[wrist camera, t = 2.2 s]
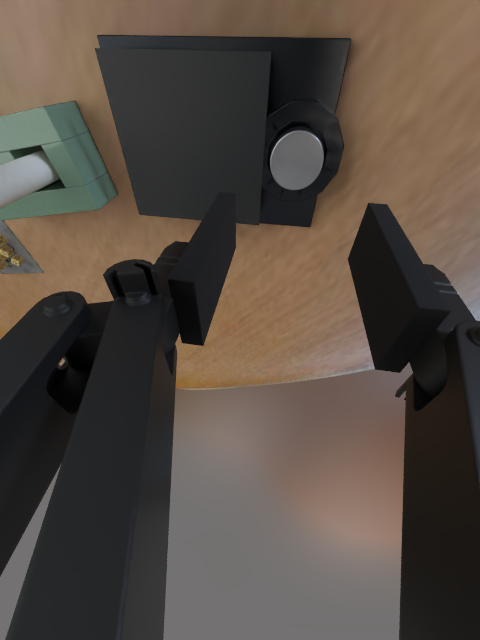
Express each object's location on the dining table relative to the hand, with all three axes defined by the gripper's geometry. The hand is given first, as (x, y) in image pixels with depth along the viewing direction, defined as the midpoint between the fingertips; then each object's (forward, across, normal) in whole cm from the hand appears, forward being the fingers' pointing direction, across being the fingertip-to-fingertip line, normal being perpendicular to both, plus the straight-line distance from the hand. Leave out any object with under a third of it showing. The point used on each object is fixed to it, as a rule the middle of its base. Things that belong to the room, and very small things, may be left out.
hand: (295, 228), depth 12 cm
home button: (+13, 0, 0) cm, 13 cm away
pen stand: (+15, -25, -2) cm, 30 cm away
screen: (+12, -9, 0) cm, 15 cm away
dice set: (+15, -39, -14) cm, 44 cm away
